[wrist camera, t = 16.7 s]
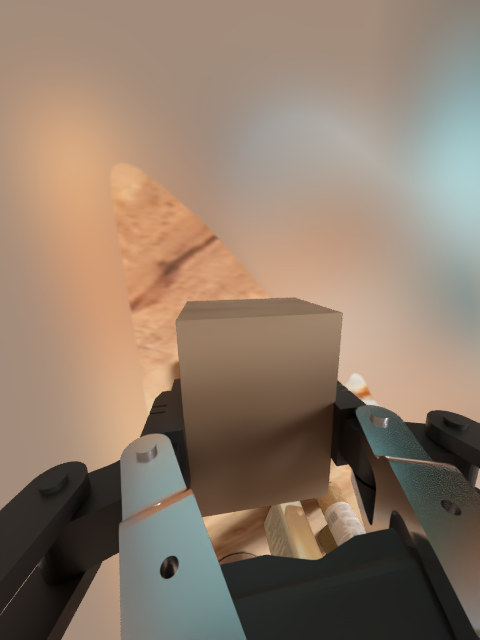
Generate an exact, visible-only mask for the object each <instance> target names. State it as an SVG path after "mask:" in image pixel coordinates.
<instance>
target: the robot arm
mask: <svg viewBox="0 0 480 640" xmlns="http://www.w3.org/2000/svg"><path fill="white" fill-rule="evenodd" d="M331 458H332V460H333V461H334V463H335V464H336V466H341V465H347V464H349V466H350V467H351V481H352V485H353V488H354V492H355V495H356V499H357V502H358V506H359V509H360V513H361V516H362V520H363V523H364V527H365V530H366V533H365V534H360V535H355V536H353V537H352V538H350V539H349V540H347V541H346V542H344V543H343V544H341V545H340V546H338V547H337V548H335V549H334V550H332V551H331V552H329V553H328V554H326V555H325V556H323V557H322V558H320V559H317V560H309V559H300V558H291V557H282V556H273V555H263V556H258V557H256V556H254V555H251V554H244V553H241V554H235V555H231V556H229V557H227V558H225V559H223V560H221V561H220V562H219V563H218V560H217V557H216V554H215V552H214V549H213V546H212V543H211V541H210V538H209V535H208V532H207V530H206V527H205V524H204V521H203V519H202V516H201V513H200V510H199V508H198V505H197V502H196V499H195V497H194V494H193V492H192V490H191V488H190V484H191V477H190V468H189V459H188V450H187V441H186V432H185V423H184V416H183V404H182V392H181V380H180V379H175V380H174V383H173V387H172V390H171V391H165V392H162V393H161V394H160V395H159V396H158V397H157V398H156V399H155V401H154V403H153V406H152V408H151V411H150V415H149V416H148V418H147V421H146V424H145V426H144V429H143V431H142V434H141V436H140V438H138V439H136V440H135V441H133V442H132V443H130V444H129V445H128V446H127V447H126V449H125V450H124V451H123V453H122V455H121V459H120V460H119V461H117V462H115V463H113V464H111V465H108V466H106V467H103V468H101V469H98V470H95V471H93V472H90V473H88V471H87V467H86V465H85V464H84V463H81V462H76V461H75V462H67V463H63V464H60V465H57V466H55V467H53V468H51V469H49V470H47V471H45V472H44V473H42V474H40V475H39V476H38V477H37V478H35V479H34V480H33V481H32V482H30V483H29V484H28V485H27V486H26V487H25V488H24V489H23V490H22V491H21V492H20V493H18V495H16V496H15V497H14V498H13V499H12V500H11V501H10V502H9V503H8V504H7V505H6V506H5V507H4V508H2V509H1V510H0V614H1V613H2V611H3V609H4V608H5V607H6V606H7V604H8V603H9V602H10V600H11V599H12V598H13V596H14V595H15V593H16V592H17V591H18V589H19V588H20V587H21V586H22V584H23V583H24V582H25V580H26V579H27V578H28V576H29V575H30V574H31V572H32V571H33V570H34V568H35V567H36V566H37V564H38V566H37V567H36V568H35V570H34V571H33V573H32V574H31V575H30V576H29V578H28V579H27V580H26V582H25V583H24V584H23V586H22V587H21V588H20V590H19V591H18V592H17V594H16V595H15V597H14V598H13V599H12V600H11V602H10V603H9V604H8V606H7V607H6V608H5V610H4V611H3V613H2V614H1V615H0V640H61V639H62V637H63V635H64V633H65V631H66V629H67V627H68V626H69V624H70V622H71V620H72V618H73V616H74V614H75V612H76V611H77V609H78V607H79V605H80V603H81V601H82V599H83V597H84V596H85V594H86V592H87V590H88V588H89V586H90V584H91V582H92V581H93V579H94V577H95V574H96V573H97V571H98V569H99V568H100V566H101V563H102V561H104V560H106V559H108V558H109V557H111V556H113V555H115V554H117V553H119V561H120V562H119V563H120V609H121V640H480V489H478V488H476V487H475V484H476V479H477V475H478V471H479V468H480V423H478V422H476V421H473V420H471V419H469V418H467V417H464V416H462V415H459V414H456V413H452V412H448V411H441V410H435V411H430V412H429V413H428V414H427V418H426V424H422V423H411V422H404V421H403V420H402V419H401V418H400V417H399V416H398V415H397V414H395V413H394V412H392V411H390V410H388V409H385V408H383V407H379V406H374V405H366V404H365V403H364V402H362V401H361V400H360V399H359V398H358V397H357V396H355V395H354V394H353V393H352V392H351V391H348V389H347V388H346V387H345V386H342V384H341V383H340V382H339V381H338V380H337V389H336V401H335V402H334V408H333V426H332V444H331Z"/></svg>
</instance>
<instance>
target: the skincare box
mask: <svg viewBox="0 0 480 640" xmlns="http://www.w3.org/2000/svg"><path fill="white" fill-rule="evenodd" d="M264 527H265V531H266V536H267V540H268V544H269V549H270V553H271V555H273V556H282V557H291V558H300V559H309V560H317V559H320V558H322V557H323V556H322V554H321V552H320V549H319V547H318V544H317V542H316V539H315V537H314V535H313V532H312V530H311V527H310V525H309V523H308V520H307V518H306V515H305V513H304V510H303V508H302V506H301V503H300V501H296V502H290V503H284V504H278V505H272V506H271V508H270V510H269V512H268V515H267V517H266V520H265V522H264Z"/></svg>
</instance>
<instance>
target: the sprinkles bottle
mask: <svg viewBox="0 0 480 640" xmlns="http://www.w3.org/2000/svg"><path fill="white" fill-rule="evenodd" d="M315 499H316V501H317V503H318V504H319V506H320V508H321V510H322V512H323V514H324V516H325V520H326V522H327V524H328V526H329V528H330V530H331V532H332V535H333V537H334V539H335V541H336V543H337V545H338V546H340V545H341V544H343V543H344V542H346V541H347V540H349V539H350V538H352V537H353V536H355V535H360V534H365V533H366V531H365V530H364V528H363V526H362V525H361V523H360V521H359V520H358V518H357V516H356V515H355V513H354V512H353V510H352V508H351V507H350V505H349V504H348V502H347V501H346V499H345V498H344V496H343V494H342V493H341V490H340V488H339V486H338V485H336V484H334V483H329V487H328V496H326V497H320V498H315Z"/></svg>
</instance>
